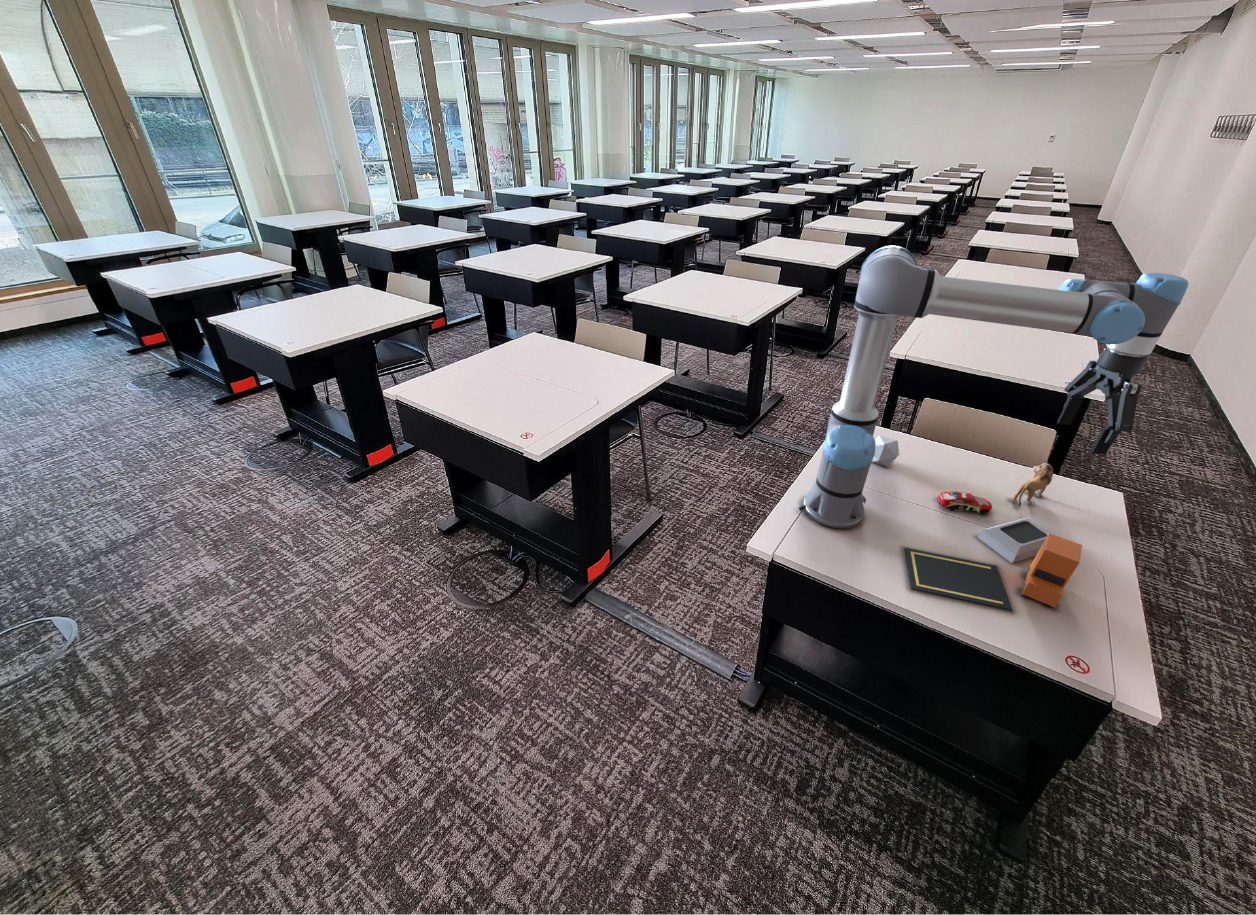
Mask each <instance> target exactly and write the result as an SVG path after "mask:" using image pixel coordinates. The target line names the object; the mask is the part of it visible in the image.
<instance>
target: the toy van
mask: <svg viewBox="0 0 1256 915" xmlns="http://www.w3.org/2000/svg"><path fill="white" fill-rule="evenodd" d="M1050 533H1051V532H1049V534H1048V536H1047V537H1046V539H1045V541H1044V543H1043V544H1042V546H1041V548H1040V550H1039V552H1038V553H1037V555H1036V556H1034V558H1033V560H1032V562H1031V563H1030V565H1029V567H1028V569H1027V571H1026V574H1025V577H1026V578H1025V580H1024V581H1025V582H1024V586H1023V588H1022V590H1021V595H1022V596H1025V597H1028V598H1031V599H1034V600H1036V601H1038V602H1041V603H1043V604H1045V605H1048V606H1049V607H1051V608H1056V606H1057V605H1058V603H1059V602H1060V600H1061V599H1062V597H1063V593H1064V588H1065V586H1066V585H1067V583H1068V581H1070V578H1071V577H1072V575H1073V574H1074V572H1075V570H1076V569H1077V568H1078V566H1079V564H1080V561H1081V555H1082V548H1083V545H1082V544H1081V543H1078V542H1075V541H1072V540H1069V539H1067V538H1063V537H1061V536H1058V535H1055V534H1052V533H1051V534H1050Z"/></svg>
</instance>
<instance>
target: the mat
mask: <svg viewBox="0 0 1256 915" xmlns="http://www.w3.org/2000/svg"><path fill="white" fill-rule="evenodd" d="M903 548H904V554H905V560H906V567H907V573H908V574H907V575H908V579H909V586H910V590H912V591H913V590H914V591H917V592H921V593H927V594H932V595H937V596H942V597H946V598H950V599H954V600H959V601H965V602H969V603H972V604H973V603H974V604H977V605H978V604H979V605H983V606H987V607H992V608H997V609H1001V610H1005V611H1011V612H1012V611H1013V608H1012V604H1011V602H1010V600H1009V597H1008V593H1007V590H1006V589H1005V586H1004V582H1003V580H1002V577H1001V575H1000V572H999V569H998V566H997V565H995V564H990V563H984V562H980V561H975V560H969V559H965V558H959V557H954V556H951V555H950V556H949V555H944V554H939V553H936V552H935V553H934V552H931V551H930V552H929V551H925V550H919V549H913V548H908V547H903Z"/></svg>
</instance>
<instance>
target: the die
mask: <svg viewBox="0 0 1256 915" xmlns="http://www.w3.org/2000/svg"><path fill="white" fill-rule="evenodd" d="M874 440H875V444H876V447H875V455H874V458H873V459H872V461H871V463H874V464H877V465H880V466H882V467H883V466H884V467H887V468H889V466H891V465H892V463H893V462H895V460H896V459H897V458H898V457H899V456H900V449H899V441H898V440H897V439H893V438H890V437H887V436H883V435H880V434H879V435H878V436H877V437H875V438H874Z"/></svg>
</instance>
